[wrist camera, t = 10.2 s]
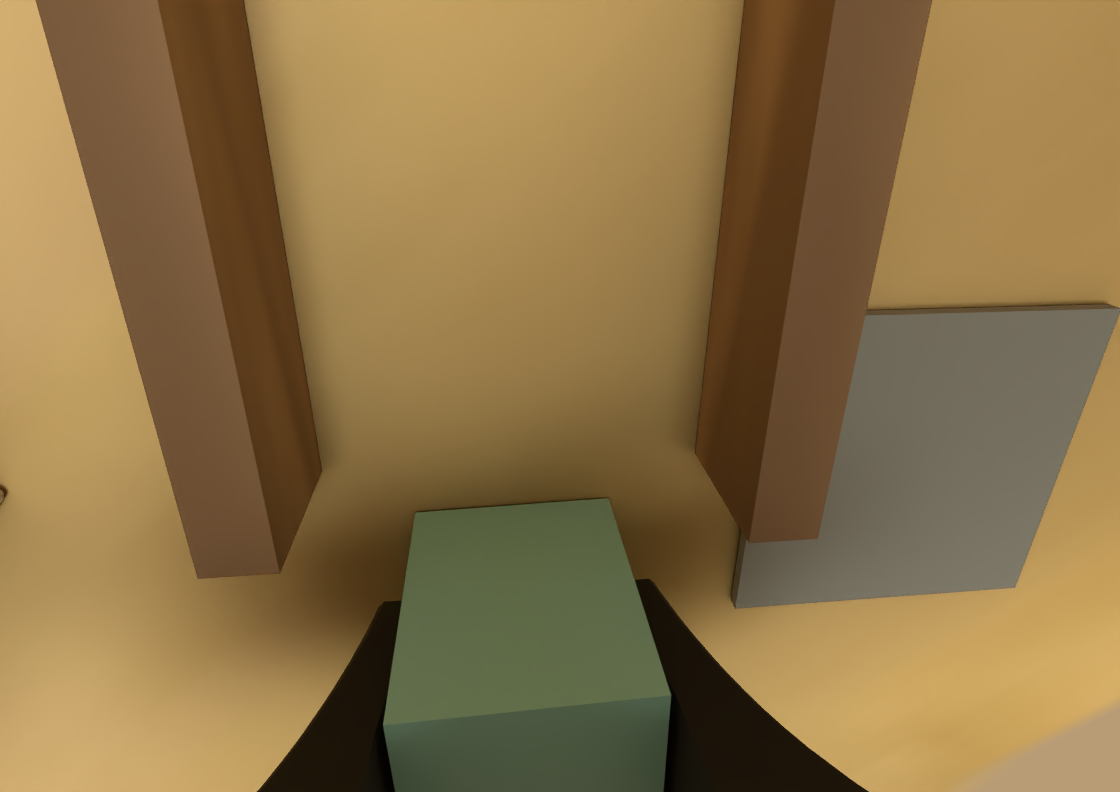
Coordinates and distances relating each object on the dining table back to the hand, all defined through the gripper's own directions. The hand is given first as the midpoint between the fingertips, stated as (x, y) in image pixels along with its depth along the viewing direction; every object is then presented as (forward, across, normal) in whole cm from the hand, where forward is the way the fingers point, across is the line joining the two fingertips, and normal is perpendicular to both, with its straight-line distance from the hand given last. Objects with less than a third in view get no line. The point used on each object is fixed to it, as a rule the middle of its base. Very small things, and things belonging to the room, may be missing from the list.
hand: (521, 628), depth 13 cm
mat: (+2, -8, -2) cm, 9 cm away
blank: (+1, 0, 0) cm, 1 cm away
